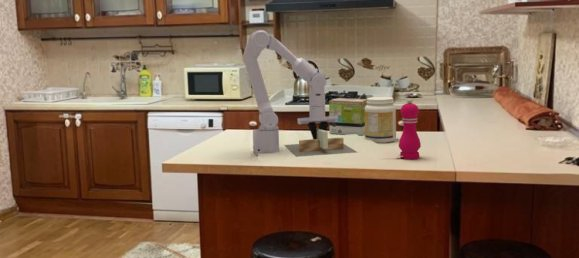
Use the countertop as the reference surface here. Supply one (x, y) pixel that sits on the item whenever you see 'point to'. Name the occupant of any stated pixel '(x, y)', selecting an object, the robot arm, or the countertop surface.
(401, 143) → the pepper mill
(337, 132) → the tea box
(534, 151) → the countertop surface
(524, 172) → the countertop surface
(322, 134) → the sage notched plate
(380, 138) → the supplement tub
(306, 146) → the oak slotted plate
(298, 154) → the board
